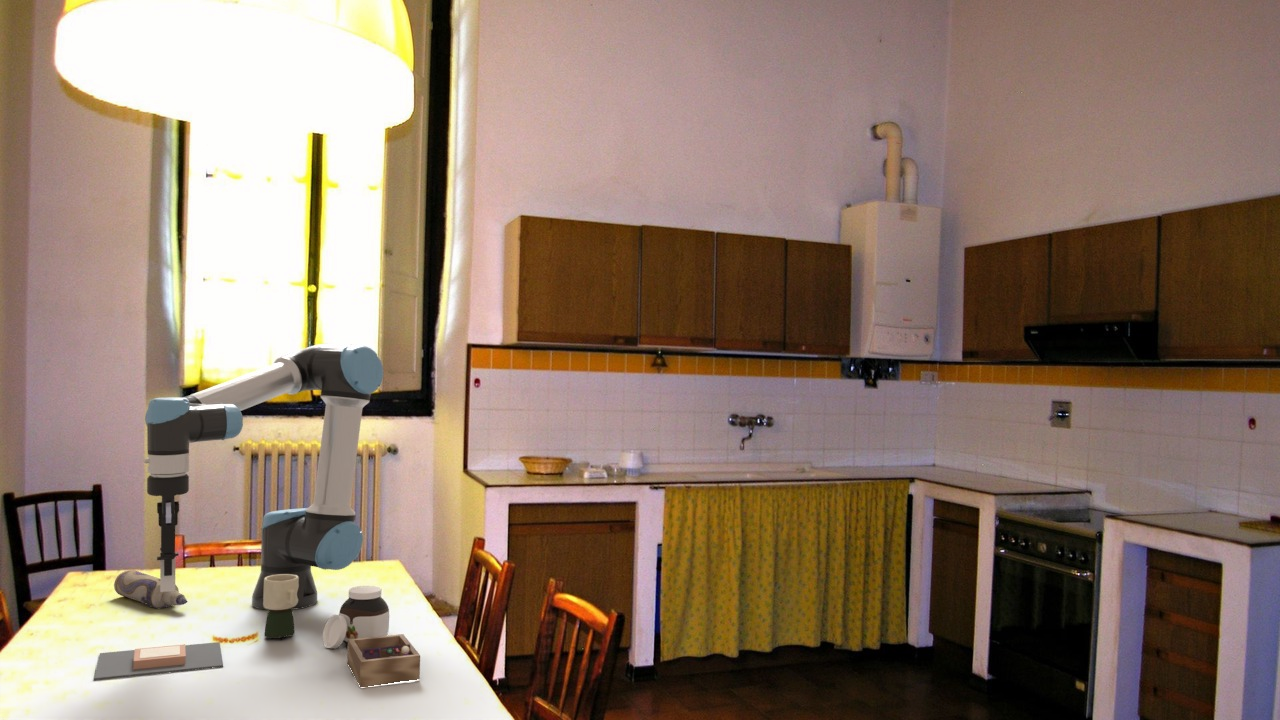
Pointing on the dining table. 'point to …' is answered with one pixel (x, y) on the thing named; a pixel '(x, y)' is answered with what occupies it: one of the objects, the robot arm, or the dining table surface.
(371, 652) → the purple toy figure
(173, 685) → the dining table surface
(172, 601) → the decorative bottle
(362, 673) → the open wooden trinket box
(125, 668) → the rubber mat
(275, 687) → the dining table surface
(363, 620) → the spread jar
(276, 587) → the character mug
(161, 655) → the terracotta tile
